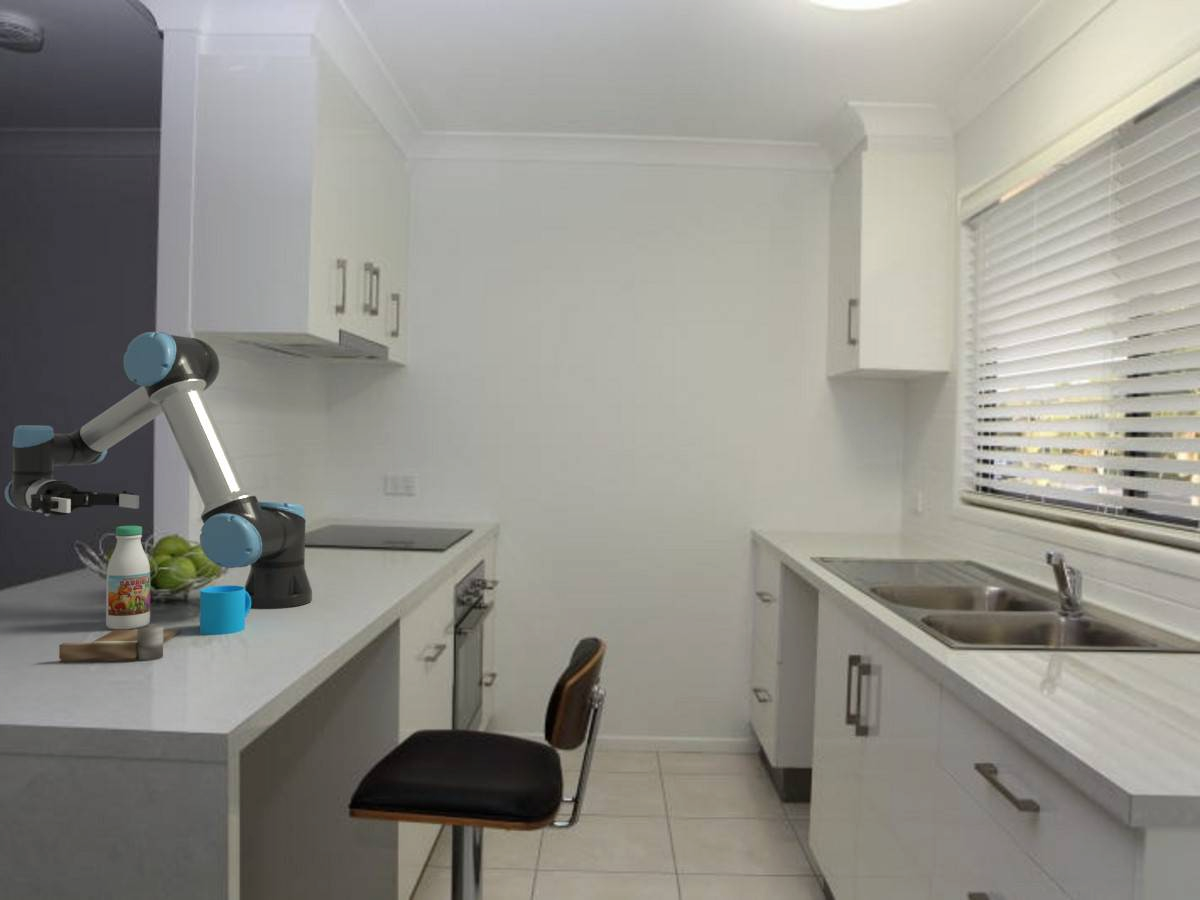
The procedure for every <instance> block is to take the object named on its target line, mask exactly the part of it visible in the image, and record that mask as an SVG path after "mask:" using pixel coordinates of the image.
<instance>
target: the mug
mask: <svg viewBox="0 0 1200 900" xmlns="http://www.w3.org/2000/svg"><path fill="white" fill-rule="evenodd" d="M199 593H200V595H199V599H200V600H199V601H200V602H199V604H200V605H199V632H200V634H204V635H211V636H212V635H213V636H217V635H218V636H221V635H230V634H236V633H239V632H242V631H244V630H245V628H246V617H247V616H248V614H249V613H250V610H251V608H252V607H251V597H250V595H249V594H248V593H247V592H246V591H245V586H243V585H242V586H241V585H234V584H233V585H232V584H231V585H214V586H208V587H204V588H201V589H200V591H199Z"/></svg>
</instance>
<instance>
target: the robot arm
mask: <svg viewBox="0 0 1200 900" xmlns="http://www.w3.org/2000/svg"><path fill="white" fill-rule="evenodd" d="M123 369H124V372H125V375H126V376H127V377H128V379H129V380H130V381H131V382H132V383H133V384H134V383H135V385H137V386H139V388H137V389H136V390H134V391H133V392H131V393H129V394H128V395H127V396H126V397H123V398H122V399H121V400H119V401H118V402H117V403H115V404H114V405H112V406H110V407H109V408H108V409H106V410H105V411H104V412H101V414H99V415H97V416H96V417H94V418H93V419H91V420H90V421H88V422H87V423H86V424H84V425H83V426H81V427H80V428H78V429H77V430H75V431H73V432H71V433H54V428H53V427H52V426H50V425H29V424H27V425H26V424H25V425H23V424H22V425H17V426H16V427H14V429H13V430H14V431H13V437H12V438H13V439H12V445H11V446H12V462H13V463H12V467H13V468H12V480H10V482H9V483H8V484H7V485H6V487H5V490H4V497H5V500H6V502H7V503H8V504H9V505H10V506H11V507H13V508H16V509H18V510H20V511H24V512H33V513H39V514H40V513H41V514H42V515H44V516H45V517H50V515H52V516H60V517H61V516H66V515H68V514H70V513H72V512H74V511H75V509H80V508H92V507H94V506H118V507H120V508H128V509H135V510H137V509H140V495H137V494H135V495H134V493H133V492H128V490H122V492H103V491H93V490H89V491H88V490H82V489H78V488H77V486H75V485H74V484H73V483H71V482H69V481H66V480H65V481H64V480H57V479H53V477H54V476H53V475H54V467H60V466H61V467H63V466H66V467H67V466H90V465H94V464H98V463H100V462H102V461H103V460H104V459H105V457H106V455H107V453H108V450H109V449H110V448H111V447H113V446H114V445H116V444H118V443H119V442H120V441H123V440H124V439H125V438H127V437H128V436H130V435H131V434H133V433H134V432H136V431H137V430H139V429H140V428H142V427H143V426H145V425H147V424H148V423H150V422H151V421H153V420H154V419H155V418H157V417H159V416H160V415H161V414H164V415H165V419H166V421H167V422H168V425H169V428H170V429H171V432H172V434H173V437H174V438H175V440H176V443H177V446H178V448H179V450H180V453H181V455H182V457H183V460H184V462H185V464H186V467H187V470H188V471H189V473H190V475H191V477H192V480H193V482H194V485H195V488H196V490H197V492H198V494H199V496H200V499H201V500H202V501H201V502H202V503H203V505H204V508H203V509H202V512H201V514H200V519H201V521H202V522H203V525H202V527H201V528H200V531H201V533H200V534H199V544H200V547H201V550H202V552H203V554H204V555H205V557H206V558H208V560H209V561H211V562H212V563H214V564H215V565H216V566H218V567H222V568H226V569H227V568H228V569H234V568H245V567H249V566H250V570H249V573H248V577H247V580H246V582H245V585H244V587H245V591H246V592H247V593H248V594H249V595H250V597H251V608H256V609H257V608H258V609H276V608H277V609H278V608H279V609H281V608H282V609H283V608H289V607H290V608H292V607H297V606H301V605H305V604H308V603H311V602H312V601H313V590H312V587H311V583H310V581H309V580H310V579H309V578H308V574H307V571H306V568H305V567H306V566H305V556H306V554H305V552H306V522H307V518H306V512H305V511H306V510H305V507H304V506H303V505H302V504H301V503H292V502H279V501H278V502H277V501H276V502H275V501H258V498H257V496H256V494H253V493H251V492H248V491H246V489H245V486H244V485H243V482H242V480H241V478H240V475H239V473H238V471H237V469H236V466H235V464H234V462H233V460H232V457H231V456H230V453H229V451H228V448H227V446H226V444H225V442H224V439H223V437H222V435H221V433H220V430H219V428H218V426H217V423H216V421H215V418H214V416H213V414H212V411H211V409H210V407H209V405H208V403H207V401H206V398H205V396H204V394H203V393H204V392H205V391H206V390H207V389H208V388H210V387H211V386H212V384H213V383H214V382H215V381H216V380H217V378H218V375H219V373H220V360H219V356H218V354H217V353H216V350H215V349H214V348H213V347H212V346H211V345H210V344H208V343H207V342H206V341H203V340H202V339H198V338H195V337H189V336H188V337H187V336H180V335H173V334H169V333H167V332H162V331H157V332H156V331H148V332H143V333H141V334H138V335H137V336H136V337H134V338H133V339H132V341H130V343H129V344H128V345H127V349H126V352H125V353H124V356H123Z"/></svg>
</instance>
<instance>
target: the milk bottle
mask: <svg viewBox="0 0 1200 900" xmlns="http://www.w3.org/2000/svg"><path fill="white" fill-rule="evenodd" d="M142 534H143V527H142V526H140V525H124V526H123V525H122V526H121V525H120V526H117V527H116V528H115V539H116V544H115V548H114V550H113V553H112V554H111V556H110V559H109V561H108V563H107V567H106V569H107V570H106V580H105V583H106V587H105V588H106V590H105V626H106V628H107V629H108V630H109V629H110V630H135V629H139V628H142V627H148V626H149V624H150V622H151V567H150V561H149V558H148V556H147V554H146V552H145V551H144V548H143V545H142V541H141V539H142V537H143V535H142Z"/></svg>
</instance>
